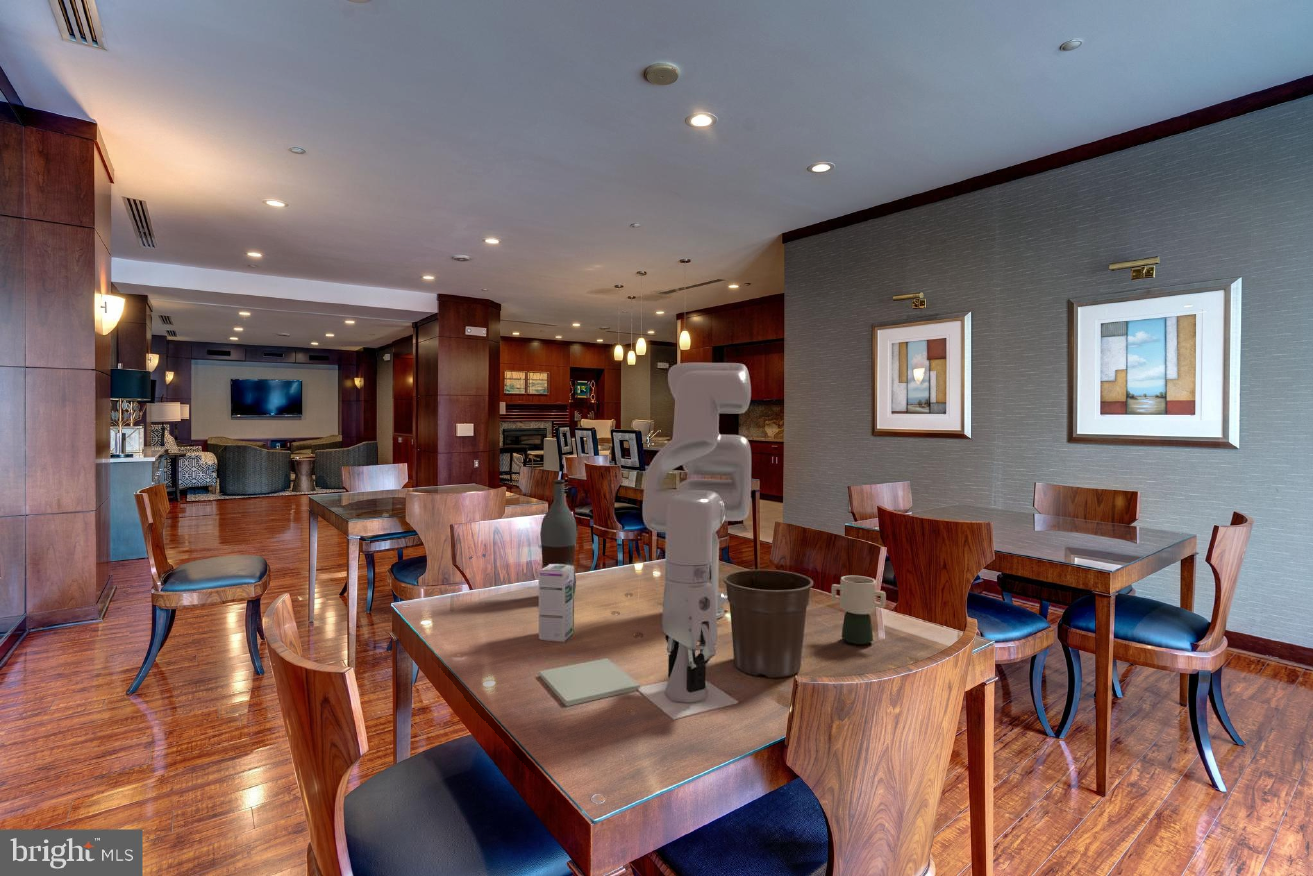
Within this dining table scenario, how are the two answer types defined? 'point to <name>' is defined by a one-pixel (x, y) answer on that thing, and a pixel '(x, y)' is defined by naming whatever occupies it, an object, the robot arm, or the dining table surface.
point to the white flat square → (685, 709)
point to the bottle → (558, 532)
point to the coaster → (588, 681)
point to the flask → (682, 680)
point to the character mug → (858, 607)
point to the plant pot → (768, 620)
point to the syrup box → (556, 602)
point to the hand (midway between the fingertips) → (686, 682)
